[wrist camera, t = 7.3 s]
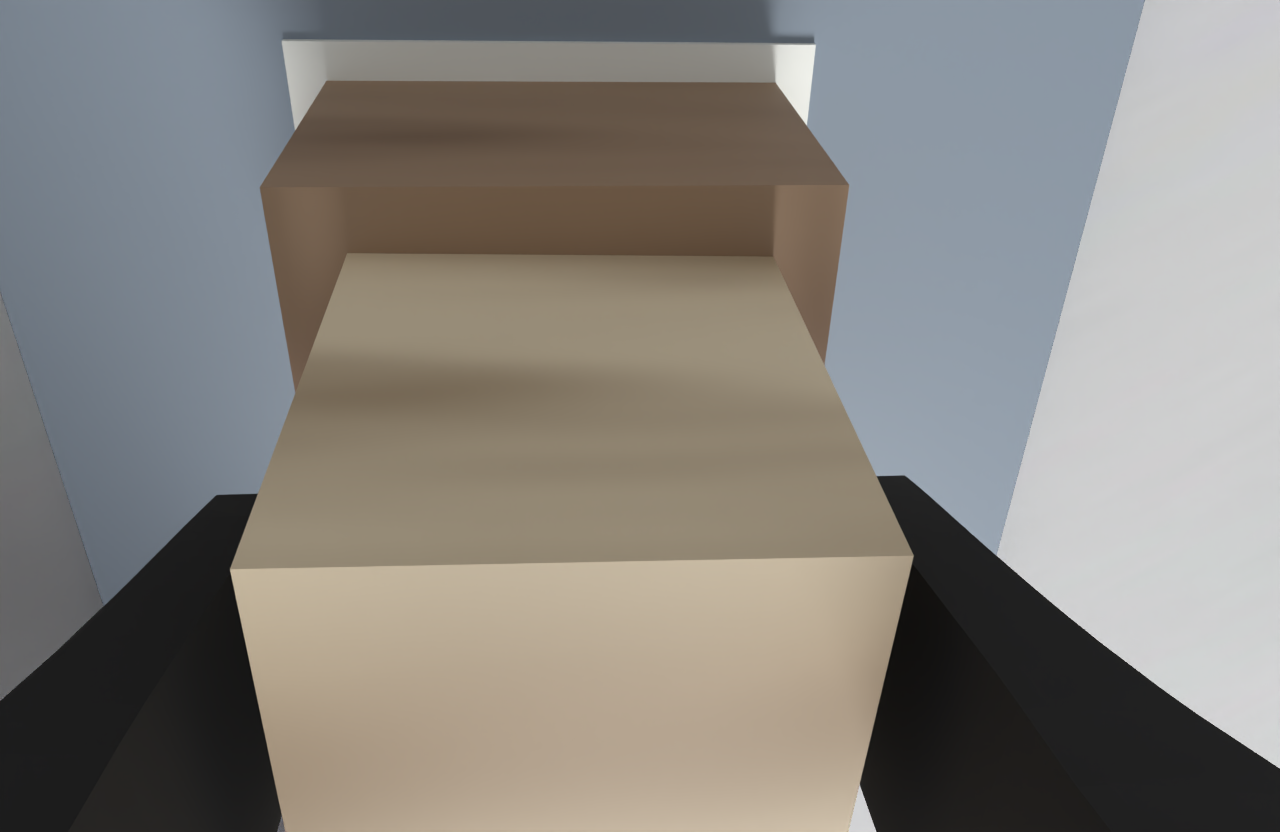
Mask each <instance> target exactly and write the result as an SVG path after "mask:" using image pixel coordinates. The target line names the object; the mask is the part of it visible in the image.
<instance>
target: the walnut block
mask: <svg viewBox="0 0 1280 832" xmlns="http://www.w3.org/2000/svg"><path fill="white" fill-rule="evenodd" d="M848 192H849V184H848V182H847V181H846V180H845V178H844V177H843V175H842V174H841V173H840V171H839V170H838V168H837V167H836V166H835V164H834V163H833V161H832V160H831V159H830V157H829V156H828V155H827V153H826V152H825V150H824V149H823V148H822V146H821V145H820V143H819V142H818V141H817V139H816V138H815V137H814V135H813V134H812V132H811V131H810V130H809V128H808V127H807V125H806V124H805V123H804V121H803V120H802V118H801V117H800V116H799V114H798V113H797V112H796V110H795V109H794V107H793V106H792V105H791V103H790V102H789V100H788V99H787V98H786V96H785V95H784V93H783V92H782V91H781V89H780V88H779V87H778V85H777V84H776V83H754V82H517V81H326V82H325V84H324V85H323V87H322V89H321V90H320V92H319V93H318V95H317V97H316V98H315V100H314V101H313V103H312V105H311V106H310V108H309V109H308V111H307V113H306V114H305V116H304V117H303V119H302V121H301V122H300V124H299V125H298V127H297V129H296V130H295V132H294V133H293V135H292V136H291V138H290V140H289V141H288V143H287V144H286V146H285V148H284V149H283V151H282V152H281V154H280V156H279V157H278V159H277V160H276V162H275V164H274V165H273V167H272V168H271V170H270V172H269V173H268V175H267V176H266V178H265V180H264V181H263V183H262V184H261V186H260V193H261V199H262V204H263V210H264V216H265V222H266V227H267V233H268V239H269V245H270V250H271V256H272V262H273V268H274V274H275V279H276V285H277V291H278V297H279V302H280V308H281V314H282V320H283V325H284V331H285V337H286V343H287V348H288V354H289V360H290V366H291V372H292V377H293V383H294V389H295V393H296V390H297V387H298V385H299V382H300V379H301V376H302V374H303V371H304V368H305V366H306V363H307V360H308V358H309V355H310V352H311V350H312V347H313V344H314V341H315V339H316V336H317V333H318V331H319V328H320V325H321V323H322V320H323V317H324V315H325V312H326V309H327V306H328V304H329V301H330V298H331V296H332V293H333V290H334V288H335V285H336V282H337V280H338V277H339V274H340V271H341V269H342V266H343V263H344V261H345V258H346V255H347V253H385V254H510V255H634V256H759V257H774V259H775V261H776V263H777V265H778V268H779V270H780V272H781V274H782V276H783V278H784V280H785V282H786V285H787V287H788V289H789V291H790V293H791V295H792V297H793V299H794V302H795V304H796V306H797V308H798V310H799V312H800V314H801V317H802V319H803V321H804V323H805V325H806V327H807V329H808V331H809V334H810V336H811V338H812V340H813V342H814V344H815V346H816V349H817V351H818V353H819V355H820V357H821V359H822V361H823V363H824V366H825V359H826V351H827V344H828V337H829V330H830V322H831V315H832V308H833V301H834V293H835V286H836V279H837V272H838V264H839V257H840V250H841V242H842V235H843V228H844V221H845V213H846V206H847V199H848Z"/></svg>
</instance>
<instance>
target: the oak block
mask: <svg viewBox="0 0 1280 832" xmlns="http://www.w3.org/2000/svg"><path fill="white" fill-rule="evenodd" d="M913 557H914V555H913V553H912V551H911V549H910V547H909V545H908V542H907V540H906V538H905V536H904V534H903V532H902V530H901V527H900V525H899V523H898V521H897V519H896V517H895V515H894V513H893V510H892V508H891V506H890V504H889V502H888V500H887V498H886V496H885V493H884V491H883V489H882V487H881V485H880V483H879V481H878V478H877V476H876V474H875V472H874V470H873V468H872V466H871V464H870V461H869V459H868V457H867V455H866V453H865V451H864V449H863V447H862V444H861V442H860V440H859V438H858V436H857V434H856V432H855V429H854V427H853V425H852V423H851V421H850V419H849V417H848V415H847V412H846V410H845V408H844V406H843V404H842V402H841V400H840V398H839V395H838V393H837V391H836V389H835V387H834V385H833V383H832V380H831V378H830V376H829V374H828V372H827V370H826V368H825V366H824V363H823V361H822V359H821V357H820V355H819V353H818V351H817V349H816V346H815V344H814V342H813V340H812V338H811V336H810V334H809V331H808V329H807V327H806V325H805V323H804V321H803V319H802V317H801V314H800V312H799V310H798V308H797V306H796V304H795V302H794V299H793V297H792V295H791V293H790V291H789V289H788V287H787V285H786V282H785V280H784V278H783V276H782V274H781V272H780V270H779V268H778V265H777V263H776V261H775V259H774V257H759V256H634V255H510V254H385V253H347V255H346V258H345V261H344V263H343V266H342V269H341V271H340V274H339V277H338V280H337V282H336V285H335V288H334V290H333V293H332V296H331V298H330V301H329V304H328V306H327V309H326V312H325V315H324V317H323V320H322V323H321V325H320V328H319V331H318V333H317V336H316V339H315V341H314V344H313V347H312V350H311V352H310V355H309V358H308V360H307V363H306V366H305V368H304V371H303V374H302V376H301V379H300V382H299V385H298V387H297V390H296V393H295V395H294V398H293V401H292V403H291V406H290V409H289V411H288V414H287V417H286V420H285V422H284V425H283V428H282V430H281V433H280V436H279V438H278V441H277V444H276V447H275V449H274V452H273V455H272V457H271V460H270V463H269V465H268V468H267V471H266V473H265V476H264V479H263V482H262V484H261V487H260V490H259V492H258V495H257V498H256V500H255V503H254V506H253V508H252V511H251V514H250V517H249V519H248V522H247V525H246V527H245V530H244V533H243V535H242V538H241V541H240V543H239V546H238V549H237V552H236V554H235V557H234V560H233V562H232V565H231V568H230V572H231V577H232V582H233V586H234V591H235V596H236V600H237V605H238V610H239V615H240V619H241V624H242V629H243V634H244V638H245V643H246V648H247V653H248V657H249V662H250V667H251V672H252V676H253V681H254V686H255V691H256V695H257V700H258V705H259V710H260V714H261V719H262V724H263V729H264V733H265V738H266V743H267V748H268V752H269V757H270V762H271V766H272V771H273V776H274V781H275V785H276V790H277V795H278V800H279V804H280V809H281V814H282V819H283V823H284V828H285V832H848V831H849V827H850V822H851V818H852V814H853V810H854V805H855V801H856V797H857V793H858V789H859V784H860V780H861V776H862V772H863V768H864V763H865V759H866V755H867V751H868V746H869V742H870V738H871V734H872V730H873V725H874V721H875V717H876V713H877V709H878V704H879V700H880V696H881V692H882V687H883V683H884V679H885V675H886V671H887V666H888V662H889V658H890V654H891V650H892V645H893V641H894V637H895V633H896V628H897V624H898V620H899V616H900V612H901V607H902V603H903V599H904V595H905V591H906V586H907V582H908V578H909V574H910V569H911V565H912V561H913Z"/></svg>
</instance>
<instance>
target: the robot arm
mask: <svg viewBox="0 0 1280 832" xmlns="http://www.w3.org/2000/svg"><path fill="white" fill-rule="evenodd" d="M877 478H878V481H879V483H880V485H881V487H882V489H883V491H884V493H885V496H886V498H887V500H888V502H889V504H890V506H891V508H892V510H893V513H894V515H895V517H896V519H897V521H898V523H899V525H900V527H901V530H902V532H903V534H904V536H905V538H906V540H907V542H908V545H909V547H910V549H911V551H912V553H913V555H914V557H913V561H912V565H911V569H910V574H909V578H908V582H907V586H906V591H905V595H904V599H903V603H902V607H901V612H900V616H899V620H898V624H897V628H896V633H895V637H894V641H893V645H892V650H891V654H890V658H889V662H888V666H887V671H886V675H885V679H884V683H883V687H882V692H881V696H880V700H879V704H878V709H877V713H876V717H875V721H874V725H873V730H872V734H871V738H870V742H869V746H868V751H867V755H866V759H865V763H864V768H863V772H862V776H861V780H860V786H861V789H862V792H863V795H864V798H865V801H866V803H867V806H868V809H869V812H870V815H871V817H872V820H873V823H874V826H875V829H876V831H877V832H1280V768H1278V767H1276V766H1275V765H1273V764H1272V763H1270V762H1269V761H1267V760H1266V759H1264V758H1263V757H1261V756H1260V755H1258V754H1257V753H1255V752H1254V751H1252V750H1251V749H1249V748H1247V747H1246V746H1244V745H1243V744H1241V743H1240V742H1238V741H1237V740H1235V739H1234V738H1232V737H1231V736H1229V735H1228V734H1226V733H1225V732H1223V731H1222V730H1220V729H1219V728H1217V727H1216V726H1214V725H1213V724H1211V723H1210V722H1208V721H1207V720H1205V719H1204V718H1202V717H1201V716H1199V715H1198V714H1196V713H1195V712H1193V711H1192V710H1191V709H1189V708H1188V707H1186V706H1185V705H1183V704H1182V703H1181V702H1179V701H1178V700H1176V699H1175V698H1174V697H1172V696H1171V695H1169V694H1168V693H1167V692H1165V691H1164V690H1162V689H1161V688H1160V687H1158V686H1157V685H1156V684H1154V683H1153V682H1152V681H1150V680H1149V679H1148V678H1146V677H1145V676H1144V675H1142V674H1141V673H1140V672H1138V671H1137V670H1136V669H1135V668H1133V667H1132V666H1131V665H1129V664H1128V663H1127V662H1125V661H1124V660H1123V659H1121V658H1120V657H1119V656H1117V655H1116V654H1115V653H1113V652H1112V651H1111V650H1109V649H1108V648H1107V647H1105V646H1104V645H1103V644H1102V643H1100V642H1099V641H1098V640H1096V639H1095V638H1094V637H1093V636H1091V635H1090V634H1089V633H1088V632H1087V631H1085V630H1084V629H1083V628H1082V627H1080V626H1079V625H1078V624H1077V623H1075V622H1074V621H1073V620H1072V619H1070V618H1069V617H1068V616H1067V615H1065V614H1064V613H1063V612H1062V611H1061V610H1059V609H1058V608H1057V607H1056V606H1055V605H1053V604H1052V603H1051V602H1050V601H1048V600H1047V599H1046V598H1045V597H1044V596H1043V595H1041V594H1040V593H1039V592H1038V591H1037V590H1036V589H1034V588H1033V587H1032V586H1031V585H1030V584H1028V583H1027V582H1026V581H1025V580H1024V579H1023V578H1021V577H1020V576H1019V575H1018V574H1017V573H1016V572H1014V571H1013V570H1012V569H1011V568H1010V567H1009V566H1008V565H1006V564H1005V563H1004V562H1003V561H1002V560H1001V559H1000V558H998V557H997V556H996V555H995V554H994V553H993V552H992V551H991V550H989V549H988V548H987V547H986V546H985V545H984V544H983V543H982V542H980V541H979V540H978V539H977V538H976V537H975V536H974V535H972V534H971V533H970V532H969V531H968V530H967V529H966V528H965V527H964V526H962V525H961V524H960V523H959V522H958V521H957V520H956V519H955V518H953V517H952V516H951V515H950V514H949V513H948V512H947V511H946V510H945V509H943V508H942V507H941V506H940V505H939V504H938V503H937V502H936V501H934V500H933V499H932V498H931V497H930V496H929V495H928V494H926V493H925V492H924V491H923V490H922V489H921V488H920V487H918V486H917V485H916V484H915V483H914V482H912V481H911V480H910V479H909V478H908V477H906V476H905V475H898V476H877ZM257 495H258V494H228V495H216V496H215V497H214V498H213V499H212V500H211V501H210V502H209V503H207V504H206V505H205V506H204V507H203V508H202V509H201V510H200V511H199V512H198V513H197V514H196V515H195V516H194V517H193V518H192V519H191V520H190V521H189V522H188V523H187V524H186V525H185V526H184V527H183V528H182V529H181V530H180V531H179V532H178V533H177V534H176V535H175V536H174V537H173V538H172V539H171V540H170V541H169V542H168V543H167V544H166V545H165V546H164V547H163V548H162V549H161V550H160V551H159V552H158V553H157V554H156V555H155V556H154V557H153V558H152V559H151V560H150V561H149V562H148V563H147V564H146V565H145V566H144V567H143V568H142V569H141V570H140V571H139V572H138V573H137V574H136V575H135V576H134V577H133V578H132V579H131V580H130V581H129V582H128V583H127V584H126V585H125V586H124V587H123V588H122V589H121V590H120V591H119V592H118V593H117V594H116V595H115V596H114V597H113V598H112V599H111V600H110V601H109V602H108V603H106V604H105V605H104V606H103V607H102V608H101V609H100V610H99V611H98V612H97V613H96V614H95V615H94V616H93V617H92V618H91V619H90V620H89V621H88V622H87V623H86V624H85V625H84V626H82V627H81V628H80V629H79V630H78V631H77V632H76V633H75V634H74V635H73V636H72V637H71V638H70V639H69V640H68V641H67V642H66V643H65V644H64V645H63V646H62V647H61V648H60V649H59V650H57V651H56V652H55V653H54V654H53V655H52V656H51V657H50V658H49V659H47V660H46V661H45V662H44V663H43V664H42V665H41V666H39V667H38V668H37V669H36V670H35V671H34V672H33V673H32V674H30V675H29V676H28V677H27V678H26V679H25V680H24V681H22V682H21V683H20V684H19V685H18V686H17V687H16V688H15V689H13V690H12V691H11V692H10V693H9V694H8V695H7V696H5V697H4V698H3V699H2V700H1V701H0V832H277V829H278V826H279V822H280V819H281V815H282V814H281V809H280V804H279V800H278V795H277V790H276V785H275V781H274V776H273V771H272V766H271V762H270V757H269V752H268V748H267V743H266V738H265V733H264V729H263V724H262V719H261V714H260V710H259V705H258V700H257V695H256V691H255V686H254V681H253V676H252V672H251V667H250V662H249V657H248V653H247V648H246V643H245V638H244V634H243V629H242V624H241V619H240V615H239V610H238V605H237V600H236V596H235V591H234V586H233V582H232V577H231V572H230V568H231V565H232V562H233V560H234V557H235V554H236V552H237V549H238V546H239V543H240V541H241V538H242V535H243V533H244V530H245V527H246V525H247V522H248V519H249V517H250V514H251V511H252V508H253V506H254V503H255V500H256V498H257Z"/></svg>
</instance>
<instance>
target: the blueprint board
mask: <svg viewBox="0 0 1280 832" xmlns="http://www.w3.org/2000/svg"><path fill="white" fill-rule="evenodd" d="M1144 2H1145V0H0V292H1V295H2V298H3V301H4V304H5V308H6V311H7V314H8V317H9V320H10V323H11V326H12V329H13V332H14V335H15V338H16V341H17V344H18V347H19V350H20V353H21V356H22V359H23V362H24V365H25V368H26V371H27V375H28V378H29V381H30V384H31V387H32V390H33V393H34V396H35V399H36V402H37V405H38V408H39V411H40V414H41V417H42V420H43V423H44V426H45V429H46V432H47V435H48V438H49V442H50V445H51V448H52V451H53V454H54V457H55V460H56V463H57V466H58V469H59V472H60V475H61V478H62V481H63V484H64V487H65V490H66V493H67V496H68V499H69V502H70V505H71V509H72V512H73V515H74V518H75V521H76V524H77V527H78V530H79V533H80V536H81V539H82V542H83V545H84V548H85V551H86V554H87V557H88V560H89V563H90V566H91V569H92V572H93V576H94V579H95V582H96V585H97V588H98V591H99V594H100V597H101V600H102V603H103V606H104V605H105V604H106V603H108V602H109V601H110V600H111V599H112V598H113V597H114V596H115V595H116V594H117V593H118V592H119V591H120V590H121V589H122V588H123V587H124V586H125V585H126V584H127V583H128V582H129V581H130V580H131V579H132V578H133V577H134V576H135V575H136V574H137V573H138V572H139V571H140V570H141V569H142V568H143V567H144V566H145V565H146V564H147V563H148V562H149V561H150V560H151V559H152V558H153V557H154V556H155V555H156V554H157V553H158V552H159V551H160V550H161V549H162V548H163V547H164V546H165V545H166V544H167V543H168V542H169V541H170V540H171V539H172V538H173V537H174V536H175V535H176V534H177V533H178V532H179V531H180V530H181V529H182V528H183V527H184V526H185V525H186V524H187V523H188V522H189V521H190V520H191V519H192V518H193V517H194V516H195V515H196V514H197V513H198V512H199V511H200V510H201V509H202V508H203V507H204V506H205V505H206V504H207V503H209V502H210V501H211V500H212V499H213V498H214V497H215V496H216V495H228V494H258V492H259V490H260V487H261V484H262V482H263V479H264V476H265V473H266V471H267V468H268V465H269V463H270V460H271V457H272V455H273V452H274V449H275V447H276V444H277V441H278V438H279V436H280V433H281V430H282V428H283V425H284V422H285V420H286V417H287V414H288V411H289V409H290V406H291V403H292V401H293V398H294V395H295V389H294V383H293V377H292V372H291V366H290V360H289V354H288V348H287V343H286V337H285V331H284V325H283V320H282V314H281V308H280V302H279V297H278V291H277V285H276V279H275V274H274V268H273V262H272V256H271V250H270V245H269V239H268V233H267V227H266V222H265V216H264V210H263V204H262V199H261V193H260V186H261V184H262V183H263V181H264V180H265V178H266V176H267V175H268V173H269V172H270V170H271V168H272V167H273V165H274V164H275V162H276V160H277V159H278V157H279V156H280V154H281V152H282V151H283V149H284V148H285V146H286V144H287V143H288V141H289V140H290V138H291V136H292V135H293V133H294V132H295V130H296V129H297V127H298V125H299V124H300V122H301V121H302V119H303V117H304V116H305V114H306V113H307V111H308V109H309V108H310V106H311V105H312V103H313V101H314V100H315V98H316V97H317V95H318V93H319V92H320V90H321V89H322V87H323V85H324V84H325V82H326V81H517V82H754V83H776V84H777V85H778V87H779V88H780V89H781V91H782V92H783V93H784V95H785V96H786V98H787V99H788V100H789V102H790V103H791V105H792V106H793V107H794V109H795V110H796V112H797V113H798V114H799V116H800V117H801V118H802V120H803V121H804V123H805V124H806V125H807V127H808V128H809V130H810V131H811V132H812V134H813V135H814V137H815V138H816V139H817V141H818V142H819V143H820V145H821V146H822V148H823V149H824V150H825V152H826V153H827V155H828V156H829V157H830V159H831V160H832V161H833V163H834V164H835V166H836V167H837V168H838V170H839V171H840V173H841V174H842V175H843V177H844V178H845V180H846V181H847V182H848V184H849V192H848V199H847V206H846V213H845V221H844V228H843V235H842V242H841V250H840V257H839V264H838V272H837V279H836V286H835V293H834V301H833V308H832V315H831V322H830V330H829V337H828V344H827V351H826V359H825V368H826V370H827V372H828V374H829V376H830V378H831V380H832V383H833V385H834V387H835V389H836V391H837V393H838V395H839V398H840V400H841V402H842V404H843V406H844V408H845V410H846V412H847V415H848V417H849V419H850V421H851V423H852V425H853V427H854V429H855V432H856V434H857V436H858V438H859V440H860V442H861V444H862V447H863V449H864V451H865V453H866V455H867V457H868V459H869V461H870V464H871V466H872V468H873V470H874V472H875V474H876V476H898V475H905V476H906V477H908V478H909V479H910V480H911V481H912V482H914V483H915V484H916V485H917V486H918V487H920V488H921V489H922V490H923V491H924V492H925V493H926V494H928V495H929V496H930V497H931V498H932V499H933V500H934V501H936V502H937V503H938V504H939V505H940V506H941V507H942V508H943V509H945V510H946V511H947V512H948V513H949V514H950V515H951V516H952V517H953V518H955V519H956V520H957V521H958V522H959V523H960V524H961V525H962V526H964V527H965V528H966V529H967V530H968V531H969V532H970V533H971V534H972V535H974V536H975V537H976V538H977V539H978V540H979V541H980V542H982V543H983V544H984V545H985V546H986V547H987V548H988V549H989V550H991V551H992V552H993V553H994V554H995V555H997V551H998V548H999V544H1000V540H1001V536H1002V533H1003V529H1004V525H1005V521H1006V518H1007V514H1008V510H1009V506H1010V503H1011V499H1012V495H1013V491H1014V488H1015V484H1016V480H1017V476H1018V473H1019V469H1020V465H1021V462H1022V458H1023V454H1024V450H1025V447H1026V443H1027V439H1028V435H1029V432H1030V428H1031V424H1032V420H1033V417H1034V413H1035V409H1036V405H1037V402H1038V398H1039V394H1040V390H1041V387H1042V383H1043V379H1044V376H1045V372H1046V368H1047V364H1048V361H1049V357H1050V353H1051V349H1052V346H1053V342H1054V338H1055V334H1056V331H1057V327H1058V323H1059V319H1060V316H1061V312H1062V308H1063V304H1064V301H1065V297H1066V293H1067V290H1068V286H1069V282H1070V278H1071V275H1072V271H1073V267H1074V263H1075V260H1076V256H1077V252H1078V248H1079V245H1080V241H1081V237H1082V233H1083V230H1084V226H1085V222H1086V218H1087V215H1088V211H1089V207H1090V203H1091V200H1092V196H1093V192H1094V189H1095V185H1096V181H1097V177H1098V174H1099V170H1100V166H1101V162H1102V159H1103V155H1104V151H1105V147H1106V144H1107V140H1108V136H1109V132H1110V129H1111V125H1112V121H1113V117H1114V114H1115V110H1116V106H1117V103H1118V99H1119V95H1120V91H1121V88H1122V84H1123V80H1124V76H1125V73H1126V69H1127V65H1128V61H1129V58H1130V54H1131V50H1132V46H1133V43H1134V39H1135V35H1136V31H1137V28H1138V24H1139V20H1140V16H1141V13H1142V9H1143V5H1144Z"/></svg>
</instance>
